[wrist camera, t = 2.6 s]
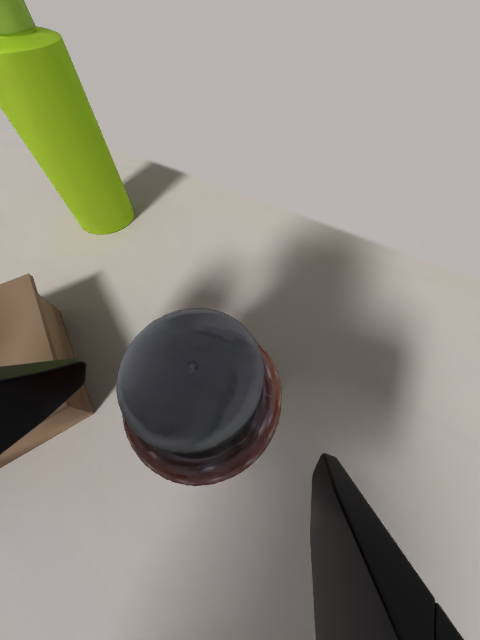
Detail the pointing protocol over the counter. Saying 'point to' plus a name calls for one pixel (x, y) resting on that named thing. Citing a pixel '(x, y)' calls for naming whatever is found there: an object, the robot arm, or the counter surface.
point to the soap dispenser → (58, 121)
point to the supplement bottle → (198, 397)
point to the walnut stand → (36, 355)
